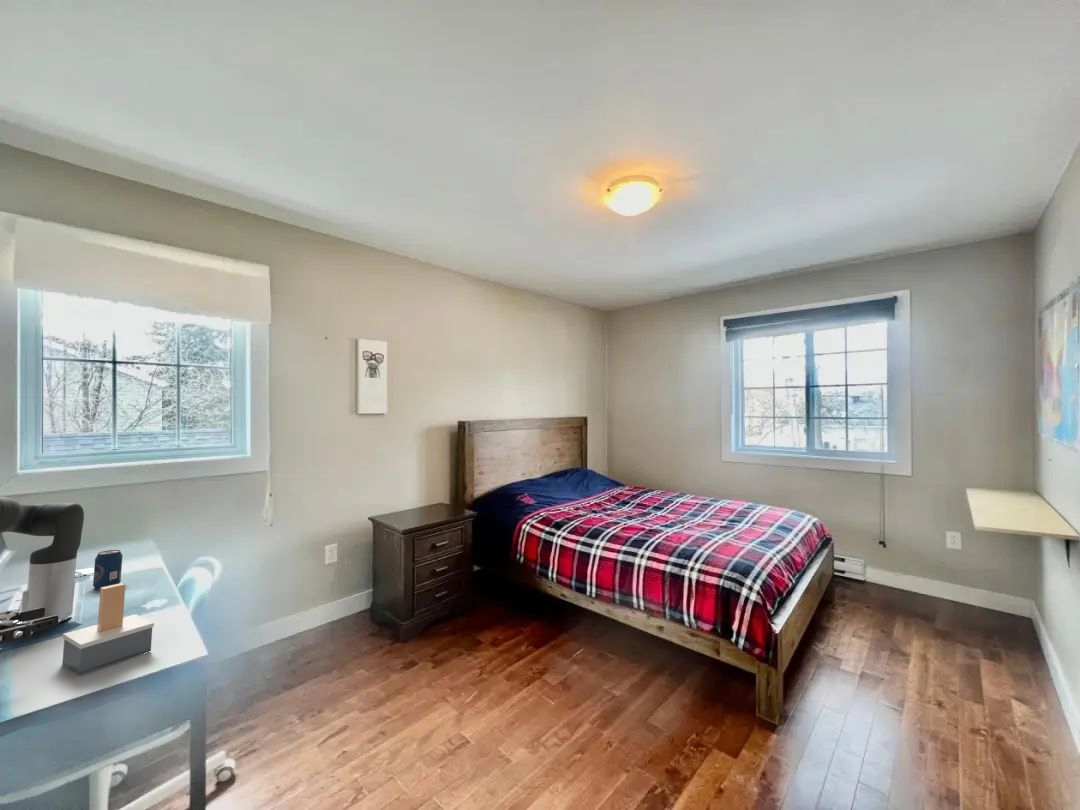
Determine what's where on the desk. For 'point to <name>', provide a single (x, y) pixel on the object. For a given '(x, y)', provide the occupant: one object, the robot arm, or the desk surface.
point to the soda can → (107, 568)
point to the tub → (106, 652)
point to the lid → (109, 620)
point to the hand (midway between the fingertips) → (50, 615)
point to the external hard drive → (86, 571)
